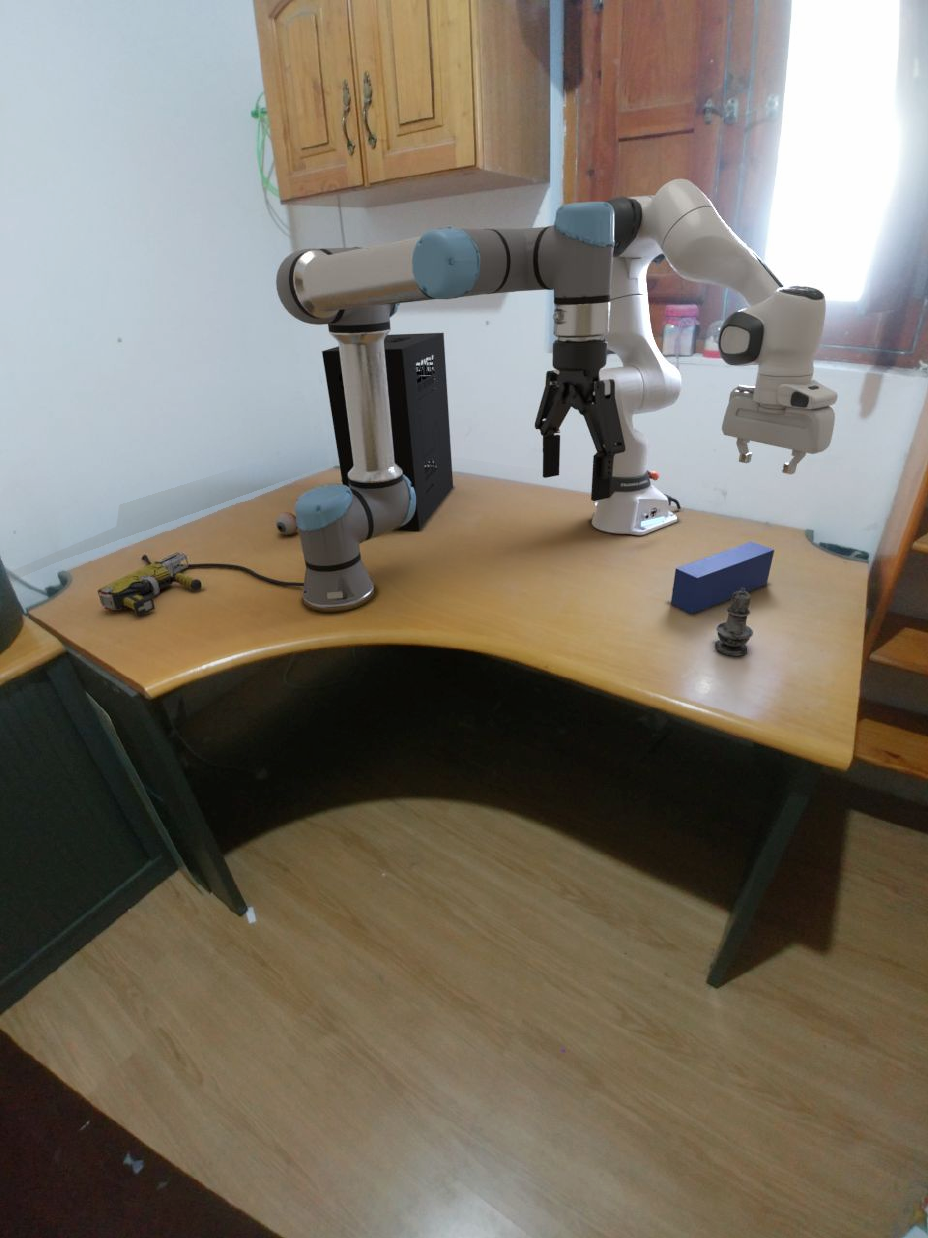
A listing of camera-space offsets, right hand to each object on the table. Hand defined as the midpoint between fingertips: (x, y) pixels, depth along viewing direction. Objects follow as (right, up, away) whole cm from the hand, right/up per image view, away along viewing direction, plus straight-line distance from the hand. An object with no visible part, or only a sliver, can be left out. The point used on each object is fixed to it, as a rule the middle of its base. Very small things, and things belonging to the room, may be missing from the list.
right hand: (765, 467), depth 114 cm
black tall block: (-75, +5, +66) cm, 100 cm away
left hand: (-40, -8, -20) cm, 45 cm away
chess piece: (-10, -34, -7) cm, 36 cm away
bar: (-5, -23, +10) cm, 26 cm away
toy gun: (-125, -23, +24) cm, 129 cm away
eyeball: (-105, -6, +51) cm, 117 cm away
